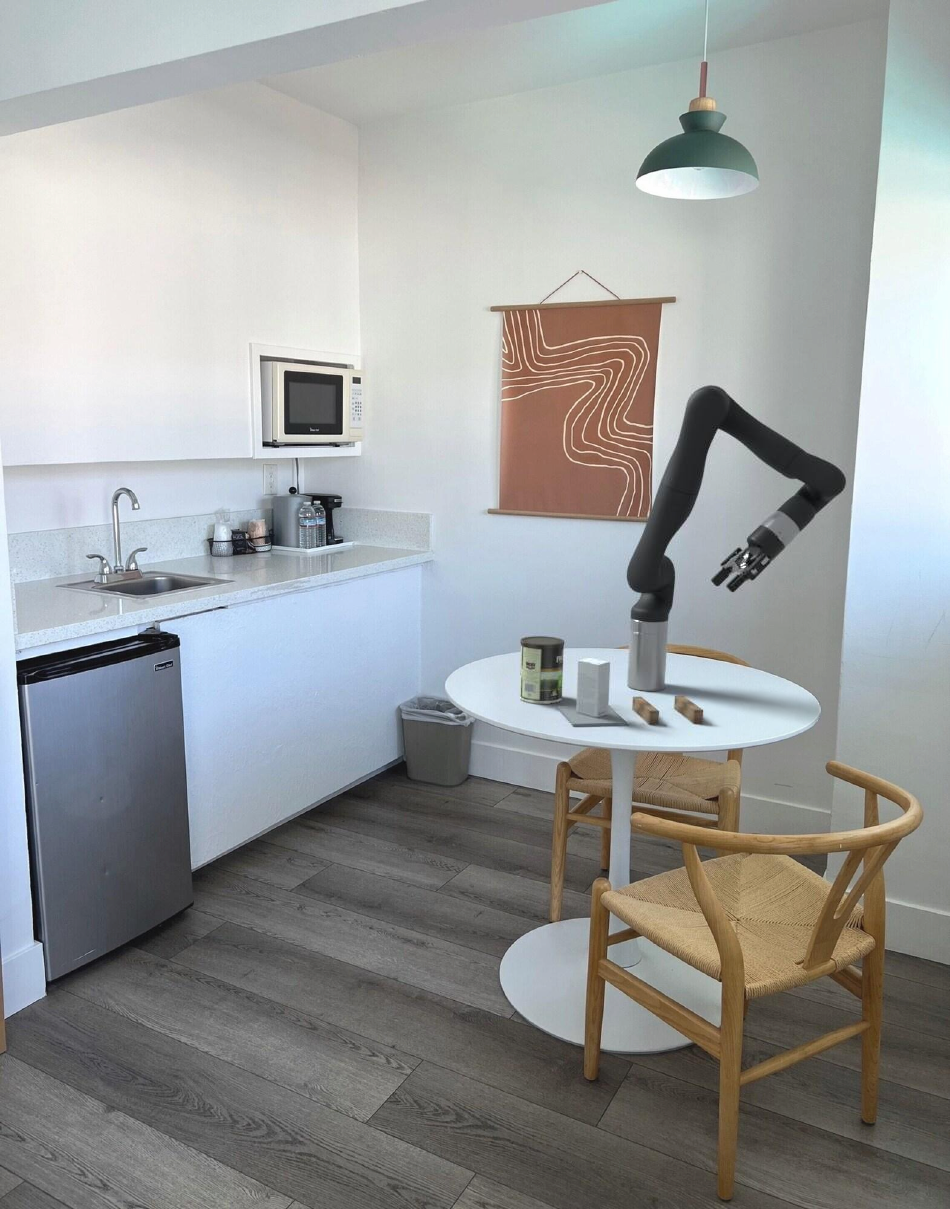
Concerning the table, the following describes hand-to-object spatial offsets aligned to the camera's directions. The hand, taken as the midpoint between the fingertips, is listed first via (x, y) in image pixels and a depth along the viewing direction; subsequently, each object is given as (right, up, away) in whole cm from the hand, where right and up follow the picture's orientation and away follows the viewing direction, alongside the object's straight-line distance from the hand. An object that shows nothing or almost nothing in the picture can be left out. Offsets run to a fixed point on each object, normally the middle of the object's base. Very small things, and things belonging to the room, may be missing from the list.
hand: (721, 586), depth 212 cm
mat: (-29, -29, -3) cm, 41 cm away
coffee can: (-40, -26, +12) cm, 49 cm away
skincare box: (-29, -28, -2) cm, 41 cm away
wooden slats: (-13, -29, -1) cm, 32 cm away
